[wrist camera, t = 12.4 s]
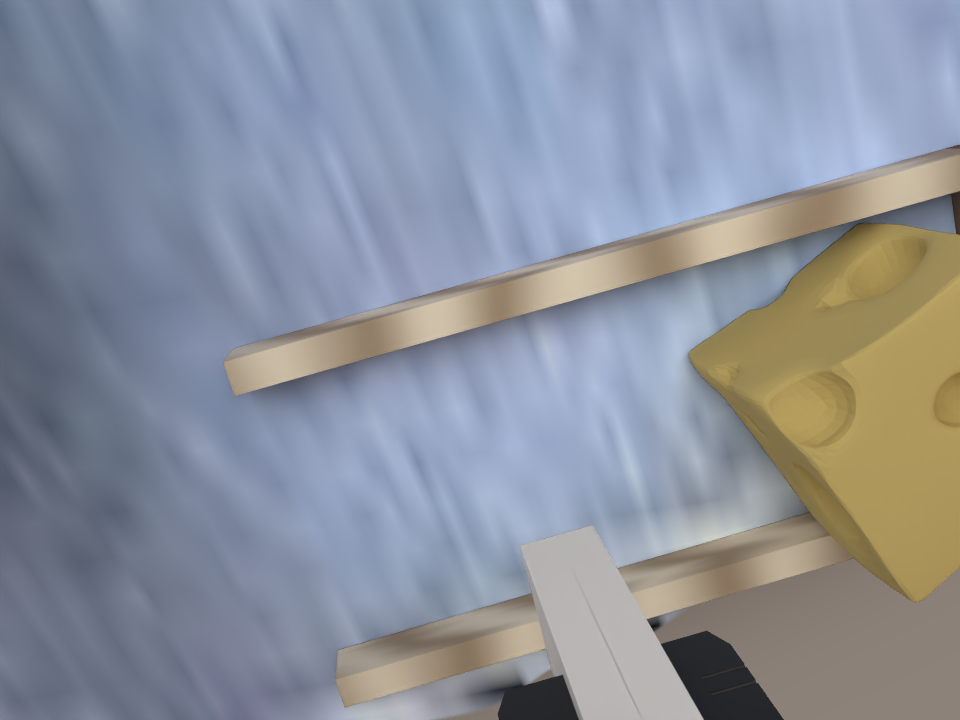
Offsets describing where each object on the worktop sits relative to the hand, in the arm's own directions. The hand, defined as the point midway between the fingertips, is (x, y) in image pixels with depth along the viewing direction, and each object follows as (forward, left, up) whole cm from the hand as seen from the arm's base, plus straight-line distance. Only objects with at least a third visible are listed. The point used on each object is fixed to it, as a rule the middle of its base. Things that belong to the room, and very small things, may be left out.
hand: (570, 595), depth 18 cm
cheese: (+16, -6, -24) cm, 29 cm away
